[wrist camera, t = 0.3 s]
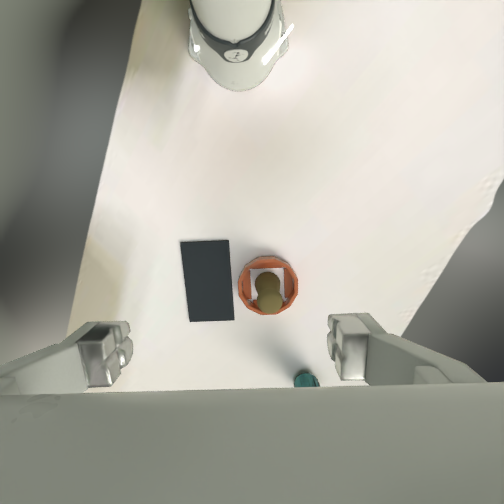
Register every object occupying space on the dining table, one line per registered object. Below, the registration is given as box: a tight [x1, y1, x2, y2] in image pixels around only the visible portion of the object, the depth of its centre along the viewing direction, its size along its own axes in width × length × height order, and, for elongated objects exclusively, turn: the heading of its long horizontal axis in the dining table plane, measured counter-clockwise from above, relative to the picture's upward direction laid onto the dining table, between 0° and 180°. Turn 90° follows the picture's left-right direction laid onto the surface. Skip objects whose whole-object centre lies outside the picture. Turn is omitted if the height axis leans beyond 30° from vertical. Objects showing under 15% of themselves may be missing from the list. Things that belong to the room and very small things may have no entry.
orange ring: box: [238, 256, 298, 315], centre depth 59 cm, size 14×14×2 cm
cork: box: [255, 272, 283, 314], centre depth 54 cm, size 6×6×11 cm
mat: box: [180, 240, 234, 322], centre depth 60 cm, size 20×11×1 cm, turn 3°
